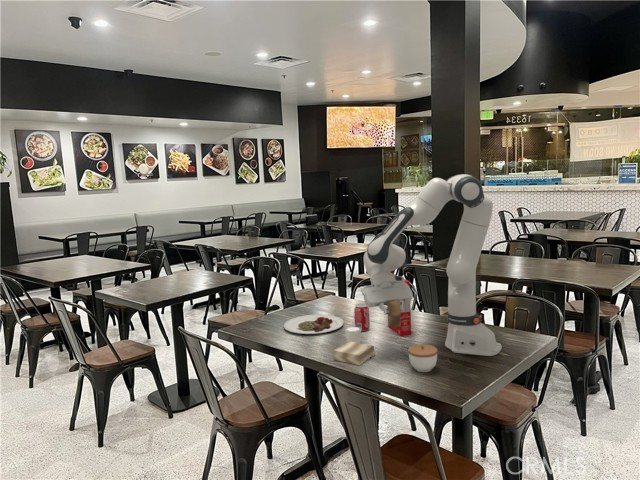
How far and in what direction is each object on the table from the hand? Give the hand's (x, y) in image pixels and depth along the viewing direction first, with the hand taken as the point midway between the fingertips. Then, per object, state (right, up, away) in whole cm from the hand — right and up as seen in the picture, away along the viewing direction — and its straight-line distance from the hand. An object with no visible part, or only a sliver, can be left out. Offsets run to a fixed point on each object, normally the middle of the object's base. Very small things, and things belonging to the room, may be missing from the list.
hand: (394, 312), depth 188 cm
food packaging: (+8, -14, +36) cm, 39 cm away
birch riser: (-16, -19, +6) cm, 25 cm away
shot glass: (-15, -17, +21) cm, 31 cm away
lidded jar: (+9, -20, -9) cm, 24 cm away
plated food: (-33, -15, +50) cm, 61 cm away
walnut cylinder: (0, -5, +1) cm, 5 cm away
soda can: (-9, -15, +40) cm, 44 cm away
